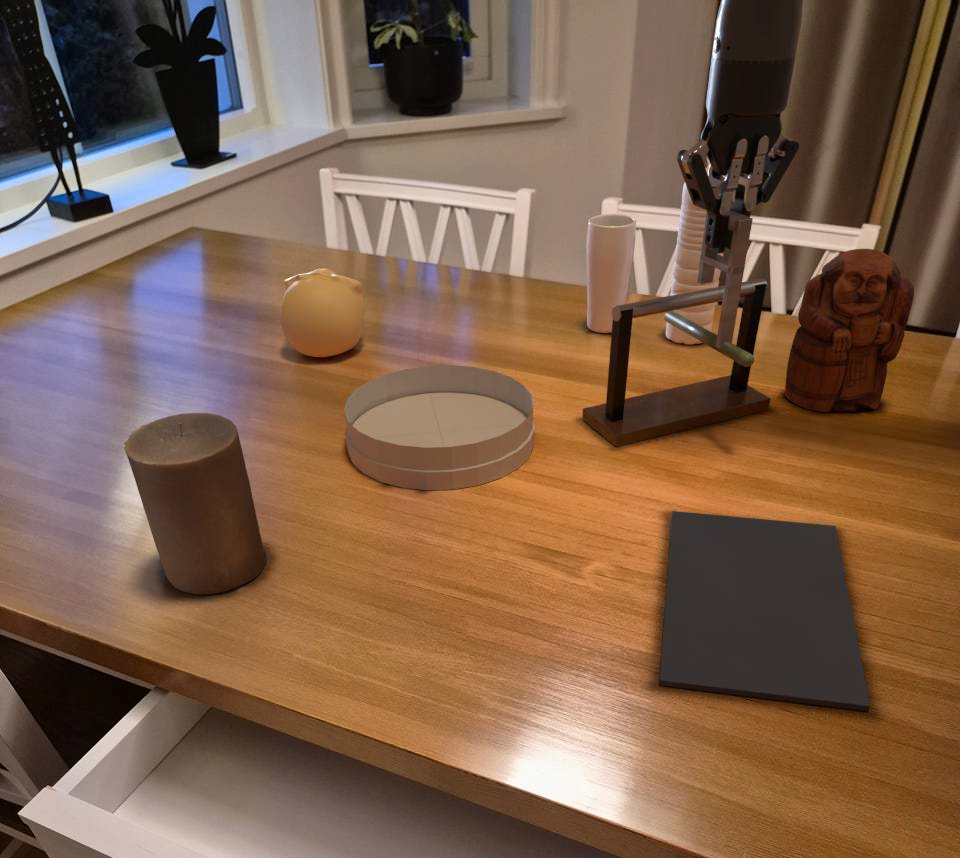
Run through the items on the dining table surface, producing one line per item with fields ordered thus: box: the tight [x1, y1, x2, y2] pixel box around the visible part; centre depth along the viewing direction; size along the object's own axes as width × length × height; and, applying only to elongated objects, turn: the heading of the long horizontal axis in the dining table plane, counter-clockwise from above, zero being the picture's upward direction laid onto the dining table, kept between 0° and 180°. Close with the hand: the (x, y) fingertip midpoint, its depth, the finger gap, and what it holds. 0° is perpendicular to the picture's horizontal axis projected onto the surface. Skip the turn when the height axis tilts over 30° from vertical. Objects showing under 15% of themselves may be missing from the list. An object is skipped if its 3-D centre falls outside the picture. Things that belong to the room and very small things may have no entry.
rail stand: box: [581, 278, 771, 448], centre depth 102 cm, size 8×22×15 cm, turn 114°
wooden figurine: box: [784, 248, 915, 413], centre depth 102 cm, size 12×6×18 cm, turn 86°
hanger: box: [663, 210, 755, 367], centre depth 93 cm, size 16×2×14 cm, turn 24°
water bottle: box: [665, 157, 726, 345], centre depth 119 cm, size 9×6×25 cm
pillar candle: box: [123, 412, 267, 595], centre depth 79 cm, size 10×10×15 cm
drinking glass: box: [585, 213, 637, 334], centre depth 124 cm, size 7×7×15 cm
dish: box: [343, 364, 536, 491], centre depth 100 cm, size 22×22×5 cm
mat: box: [658, 510, 871, 712], centre depth 77 cm, size 26×16×1 cm, turn 168°
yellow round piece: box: [279, 267, 365, 358], centre depth 121 cm, size 11×12×11 cm
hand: (724, 249), depth 90 cm, fingers closed on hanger, 1 cm apart
